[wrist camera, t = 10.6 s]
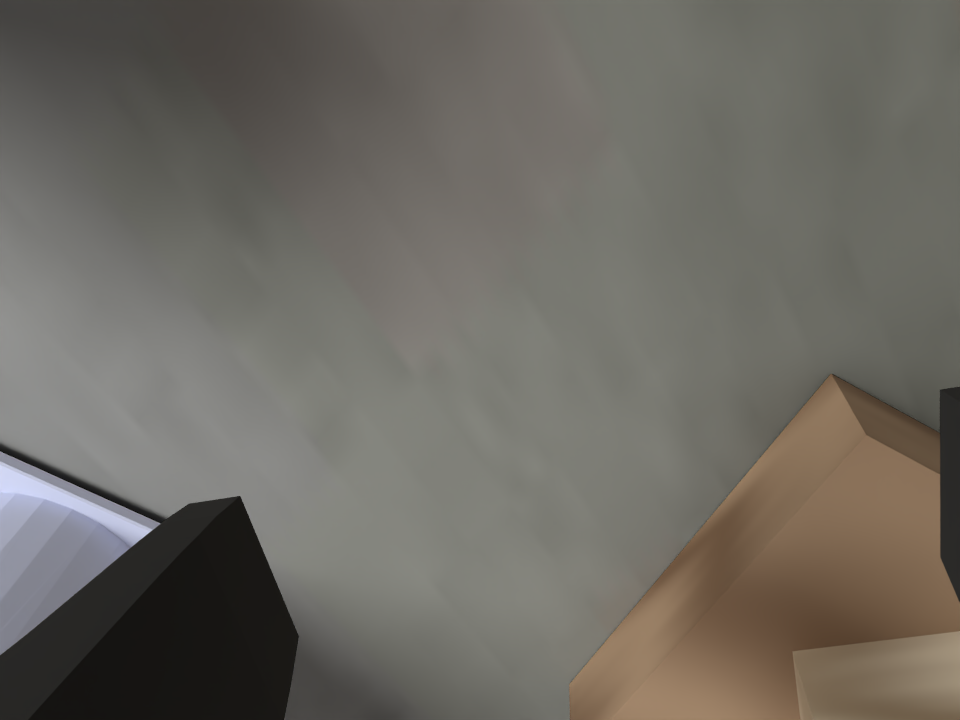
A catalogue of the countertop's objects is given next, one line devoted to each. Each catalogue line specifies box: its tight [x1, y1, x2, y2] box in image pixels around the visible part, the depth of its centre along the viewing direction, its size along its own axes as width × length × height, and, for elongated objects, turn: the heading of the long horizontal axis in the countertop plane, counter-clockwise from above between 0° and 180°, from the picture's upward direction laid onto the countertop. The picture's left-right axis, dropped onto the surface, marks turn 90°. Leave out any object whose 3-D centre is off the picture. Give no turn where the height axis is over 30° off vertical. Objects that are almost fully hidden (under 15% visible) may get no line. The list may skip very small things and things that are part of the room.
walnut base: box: [569, 374, 960, 720], centre depth 22 cm, size 11×11×2 cm
